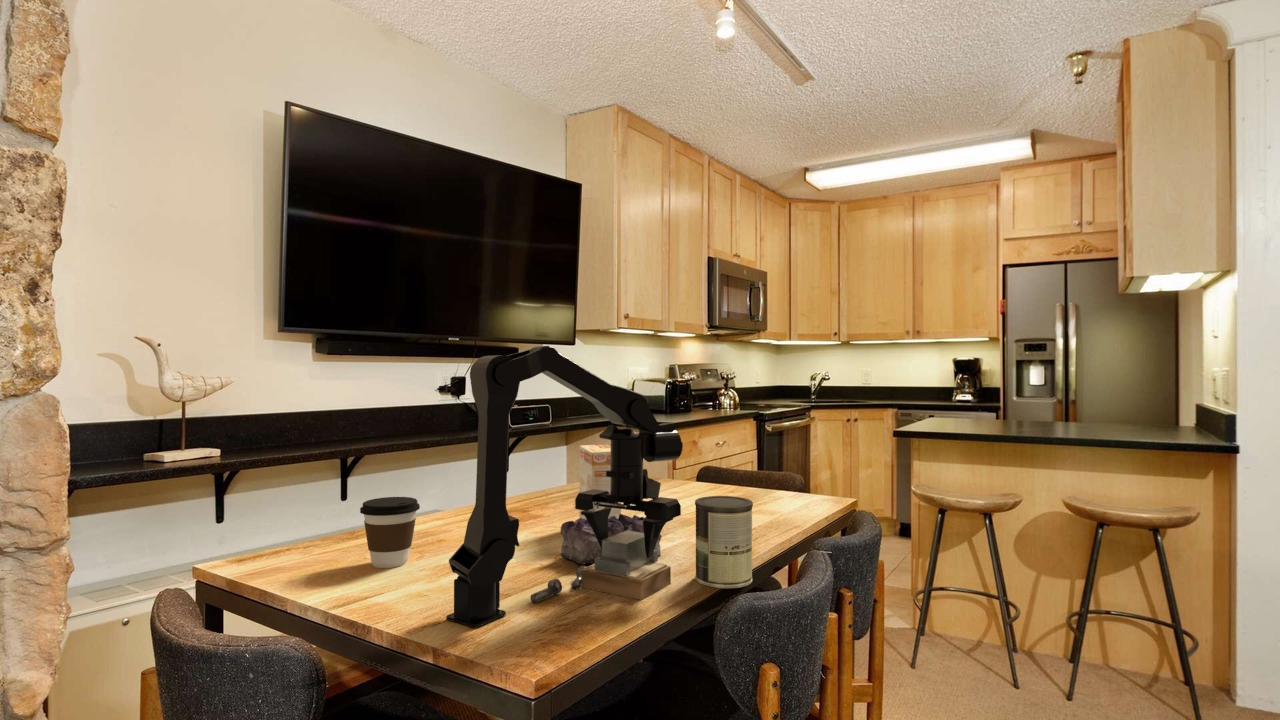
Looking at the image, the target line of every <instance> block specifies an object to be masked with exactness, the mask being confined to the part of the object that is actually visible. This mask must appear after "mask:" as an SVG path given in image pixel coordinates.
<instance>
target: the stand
mask: <svg viewBox="0 0 1280 720" xmlns="http://www.w3.org/2000/svg"><path fill="white" fill-rule="evenodd" d="M671 568H672V566H671V565H670V566H669V565H667V563H659V562H655V563H652V562H651V563H648V564H646V565H644V566H642V567H640V568H638V569H636V570H634V571H632V572H630V575H628V576H622V575H616V574H611V573H606V572H601V571H595V563H592V564H591V565H590V564H589V566H588V565H587V567H586V568H585V569H583V570H582V584H581V588H583V589H588V590H591V591H597V592H602V593H606V594H612V595H616V596H621V597H626V598H630V599H635V600H640V601H641V600H643V599H645V598H648V597H649V596H650V595H653V594H654V593H656V592H658V591H660V590H662V589H663V588H665V587H667V586H669V585H671V582H672V581H671V578H672V577H671V576H672V575H671Z"/></svg>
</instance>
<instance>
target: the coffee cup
mask: <svg viewBox="0 0 1280 720" xmlns="http://www.w3.org/2000/svg"><path fill="white" fill-rule="evenodd" d="M420 507H421V506H420V503H418V499H416V498H415V497H408V496H388V497H387V496H385V497H378V498H372V499H368V500H366V501H364V502H363V503H362V506H361V507H360V509H359V512H360V514H363V517H364V520H363V523H364V529H365V536H366V542H367V547H368V551H369V554H370V555H369V556H370V561H371V562H370V563H371V564H372V565H373V566H372V567H374V568H377V569H391V568H392V569H393V568H398V567H402V566H404V565H405V564H407V562H408V560H409V557H410V556H409V555H410V551H411V547H412V545H413V539H414V538H413V537H414V533H415V532H414V531H415V527H416V526H415V525H416V514H417V511H418V510H420Z"/></svg>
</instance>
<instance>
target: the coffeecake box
mask: <svg viewBox="0 0 1280 720" xmlns="http://www.w3.org/2000/svg"><path fill="white" fill-rule="evenodd" d="M610 459H611V445H608V444H586V445H582V444H581V445H579V493H580V492H584V491H588V490H592V489H594V490H603V491H608V492H609V494H610V477H606V471H608V470H610ZM618 503H619V504H622V502H618ZM609 508H610V507H609ZM581 511H583V510H579V517H578V519H579V518H583V519H586V517H585V516H584V515H581ZM620 514H622V509H618V508H612V509H611V511H610V514H609V517H608V518H610V517H612V516H615V517H616V518H617V519H618V518H619V515H620ZM586 520H587V519H586Z"/></svg>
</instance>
